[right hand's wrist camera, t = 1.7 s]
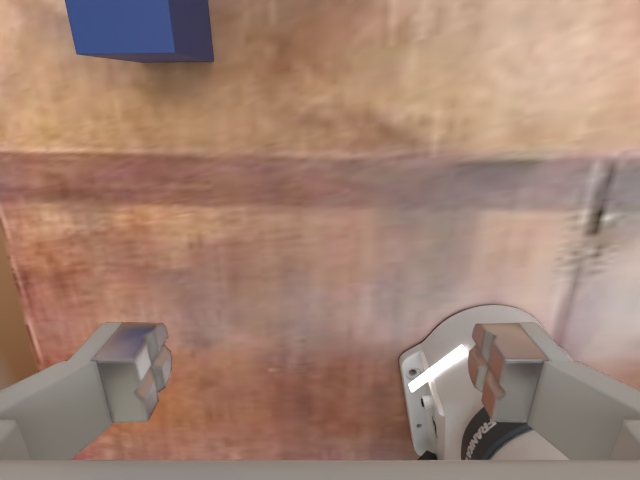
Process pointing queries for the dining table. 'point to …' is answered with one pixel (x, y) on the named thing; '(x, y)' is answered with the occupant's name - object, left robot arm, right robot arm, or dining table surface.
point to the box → (142, 29)
